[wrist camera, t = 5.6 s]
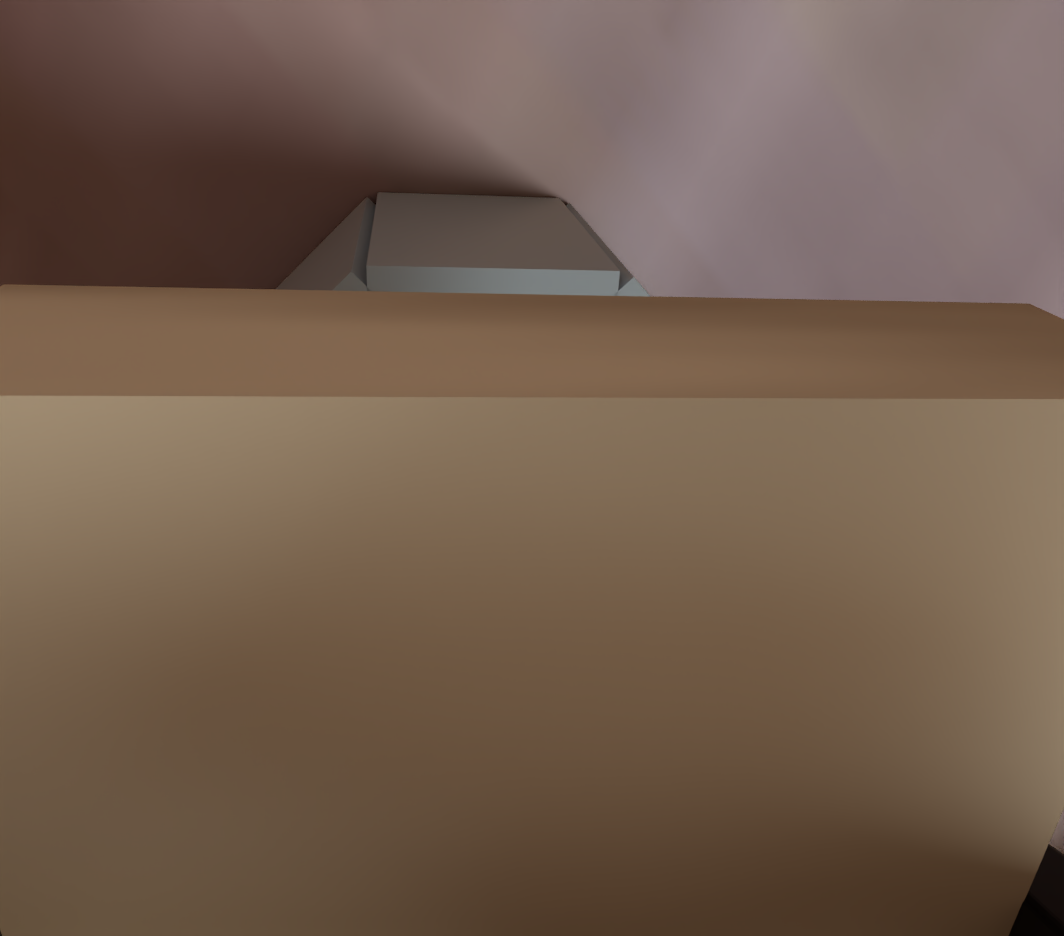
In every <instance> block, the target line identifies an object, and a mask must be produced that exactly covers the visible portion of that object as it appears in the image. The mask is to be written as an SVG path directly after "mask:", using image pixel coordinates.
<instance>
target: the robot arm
mask: <svg viewBox="0 0 1064 936" xmlns="http://www.w3.org/2000/svg"><path fill="white" fill-rule="evenodd" d="M0 936H2V934H1V931H0ZM1009 936H1064V854H1062V853H1061V852H1060V851H1058V850H1057V849H1055V848H1054V847H1052V846H1051V845H1049V844H1048V847H1047V849H1046V851H1045V854H1044V856H1043V858H1042V861H1041V863H1040V865H1039V868H1038V870H1037V872H1036V875H1035V877H1034V879H1033V882H1032V884H1031V886H1030V889H1029V891H1028V893H1027V896H1026V898H1025V900H1024V901H1023V903H1022V905H1021V907H1020V910H1019V912H1018V914H1017V917H1016V919H1015V921H1014V924H1013V926H1012V928H1011V931H1010V933H1009Z"/></svg>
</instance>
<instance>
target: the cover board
mask: <svg viewBox="0 0 1064 936" xmlns="http://www.w3.org/2000/svg"><path fill="white" fill-rule="evenodd" d="M1063 809H1064V319H1061V318H1059V317H1057V316H1055V315H1053V314H1051V313H1048V312H1046V311H1044V310H1042V309H1040V308H1037V307H1035V306H1033V305H1031V304H1017V303H964V302H912V301H859V300H806V299H753V298H700V297H647V296H595V295H542V294H489V293H436V292H383V291H330V290H277V289H225V288H172V287H119V286H66V285H13V284H3V285H2V286H0V931H1V934H2V936H1009V933H1010V931H1011V928H1012V926H1013V924H1014V921H1015V919H1016V917H1017V914H1018V912H1019V910H1020V907H1021V905H1022V903H1023V901H1024V900H1025V898H1026V896H1027V893H1028V891H1029V889H1030V886H1031V884H1032V882H1033V879H1034V877H1035V875H1036V872H1037V870H1038V868H1039V865H1040V863H1041V861H1042V858H1043V856H1044V854H1045V851H1046V849H1047V847H1048V844H1049V842H1050V840H1051V837H1052V835H1053V833H1054V830H1055V828H1056V826H1057V823H1058V821H1059V819H1060V816H1061V814H1062V812H1063Z"/></svg>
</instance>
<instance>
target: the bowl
mask: <svg viewBox="0 0 1064 936" xmlns="http://www.w3.org/2000/svg"><path fill="white" fill-rule="evenodd" d="M276 289H277V290H330V291H383V292H436V293H489V294H542V295H595V296H647V297H650V295H649V294H648V293H647V292H646V291H645V290H644V288H643V287H642V286H641V285H640V284H639V283H638V281H637V280H636V279H635V278H634V277H633V276H632V275H631V273H630V272H629V271H628V270H627V269H626V268H625V266H624V265H623V264H622V263H621V262H620V261H619V260H618V258H617V257H616V256H615V255H614V254H613V253H612V251H611V250H610V249H609V248H608V247H607V246H606V245H605V243H604V242H603V241H602V240H601V239H600V238H599V236H598V235H597V234H596V233H595V232H594V231H593V230H592V228H591V227H590V226H589V225H588V224H587V223H586V221H585V220H584V219H583V218H582V217H581V216H580V215H579V213H578V212H577V211H576V210H575V209H574V208H573V206H572V205H571V204H570V203H569V204H567V205H566V206H565V204H564V203H563V202H562V201H561V200H560V198H544V197H513V196H481V195H450V194H419V193H388V192H378V195H377V201H376V205H375V204H374V203H373V202H372V201H371V200H370V199H369V198H368V197H366V198H365V199H364V200H363V201H362V202H361V203H360V204H359V205H358V206H357V207H356V208H355V209H354V210H353V211H352V212H351V213H350V214H349V215H348V216H347V217H346V218H345V219H344V220H343V221H342V222H341V223H340V224H339V225H338V226H337V227H336V228H335V229H334V230H333V231H332V232H331V233H330V234H329V235H328V236H327V237H326V238H325V239H324V240H323V241H322V242H321V243H320V244H319V245H318V246H317V247H316V248H315V249H314V250H313V252H312V253H311V254H310V255H309V256H308V257H307V258H306V259H305V260H304V261H303V262H302V263H301V264H300V265H299V266H298V267H297V268H296V269H295V270H294V271H293V272H292V273H291V274H290V275H289V276H288V277H287V278H286V279H285V280H284V281H283V282H282V283H281V284H280V285H279V286H278V287H277V288H276Z"/></svg>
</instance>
